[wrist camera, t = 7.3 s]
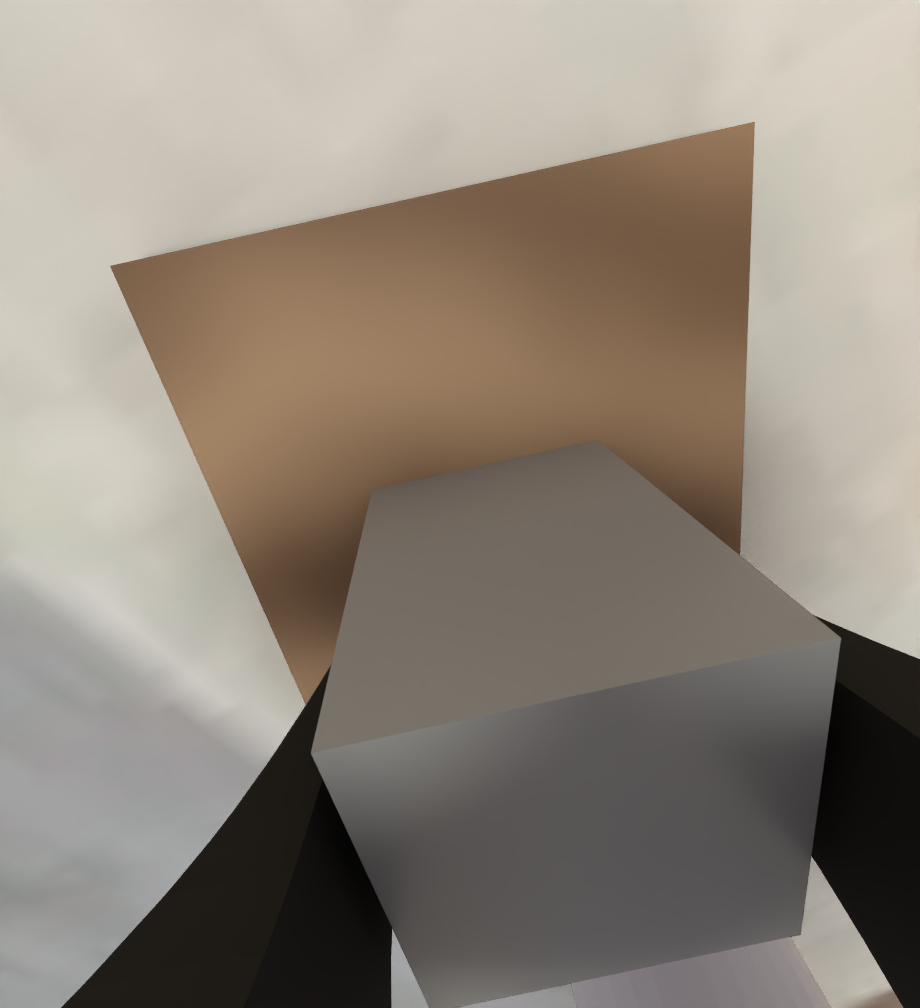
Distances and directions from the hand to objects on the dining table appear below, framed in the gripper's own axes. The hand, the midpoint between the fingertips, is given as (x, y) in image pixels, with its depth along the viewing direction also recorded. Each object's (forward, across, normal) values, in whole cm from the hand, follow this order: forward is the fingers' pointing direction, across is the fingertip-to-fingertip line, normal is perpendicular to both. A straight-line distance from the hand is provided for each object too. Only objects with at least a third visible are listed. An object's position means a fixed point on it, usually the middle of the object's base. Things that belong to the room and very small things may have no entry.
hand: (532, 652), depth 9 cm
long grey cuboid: (+3, 0, 0) cm, 3 cm away
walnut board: (+4, 0, 0) cm, 4 cm away
